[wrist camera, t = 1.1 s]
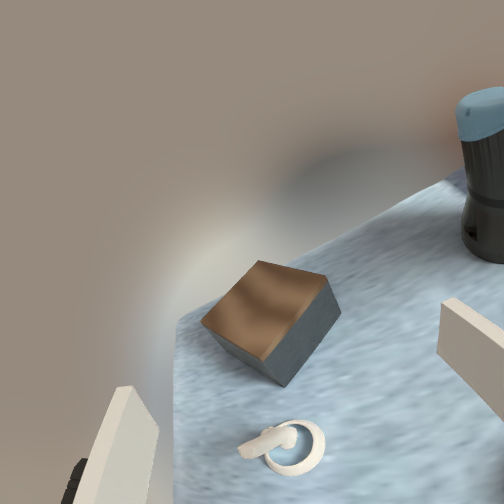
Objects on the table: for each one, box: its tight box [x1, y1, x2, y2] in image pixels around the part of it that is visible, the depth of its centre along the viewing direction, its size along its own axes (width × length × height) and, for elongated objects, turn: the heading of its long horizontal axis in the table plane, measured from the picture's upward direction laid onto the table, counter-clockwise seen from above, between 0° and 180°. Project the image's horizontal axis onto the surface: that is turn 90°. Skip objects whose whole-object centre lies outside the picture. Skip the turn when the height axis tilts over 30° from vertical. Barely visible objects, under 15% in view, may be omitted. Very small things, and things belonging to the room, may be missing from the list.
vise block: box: [200, 260, 341, 387], centre depth 43 cm, size 14×14×8 cm
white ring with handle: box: [238, 420, 325, 476], centre depth 26 cm, size 8×12×7 cm
